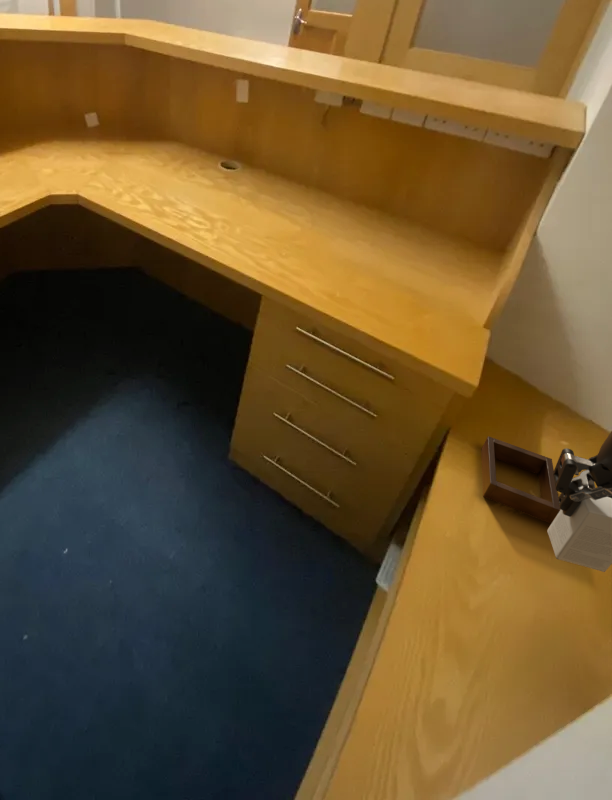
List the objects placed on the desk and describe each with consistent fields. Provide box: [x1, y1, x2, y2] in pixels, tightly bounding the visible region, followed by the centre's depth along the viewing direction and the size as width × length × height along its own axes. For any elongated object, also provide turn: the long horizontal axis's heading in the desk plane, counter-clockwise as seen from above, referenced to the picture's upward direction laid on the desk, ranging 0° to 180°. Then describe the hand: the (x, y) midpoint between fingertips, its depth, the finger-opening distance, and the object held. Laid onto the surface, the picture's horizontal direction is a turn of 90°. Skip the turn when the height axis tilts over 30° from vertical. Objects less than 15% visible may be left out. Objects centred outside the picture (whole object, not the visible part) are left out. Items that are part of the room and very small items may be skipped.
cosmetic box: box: [546, 486, 612, 573], centre depth 70 cm, size 6×4×12 cm
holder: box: [480, 435, 561, 525], centre depth 95 cm, size 11×11×6 cm
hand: (596, 521), depth 69 cm, fingers closed on cosmetic box, 6 cm apart
